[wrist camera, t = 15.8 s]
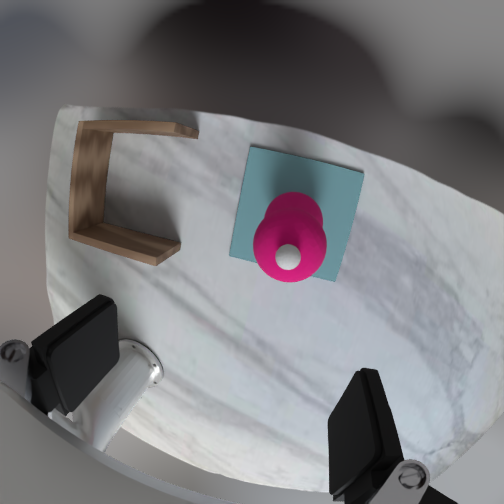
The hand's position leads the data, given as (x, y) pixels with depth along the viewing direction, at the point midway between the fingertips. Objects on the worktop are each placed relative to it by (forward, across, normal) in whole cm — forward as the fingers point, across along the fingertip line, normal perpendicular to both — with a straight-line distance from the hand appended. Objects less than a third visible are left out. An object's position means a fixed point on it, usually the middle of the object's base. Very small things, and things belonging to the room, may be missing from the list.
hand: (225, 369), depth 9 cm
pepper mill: (+30, -2, -2) cm, 30 cm away
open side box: (+31, +22, -2) cm, 38 cm away
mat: (+31, -2, -2) cm, 31 cm away
